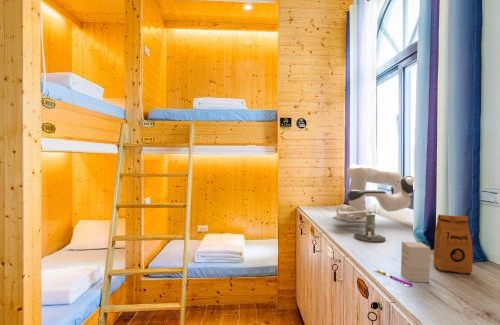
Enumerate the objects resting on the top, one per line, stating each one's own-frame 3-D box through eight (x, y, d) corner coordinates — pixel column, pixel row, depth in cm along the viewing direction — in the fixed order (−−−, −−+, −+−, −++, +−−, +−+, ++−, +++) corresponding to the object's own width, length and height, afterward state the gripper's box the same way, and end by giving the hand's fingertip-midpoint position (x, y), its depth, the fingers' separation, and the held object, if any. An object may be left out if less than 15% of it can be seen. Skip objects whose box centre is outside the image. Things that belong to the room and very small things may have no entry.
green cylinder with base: (359, 235, 174) (359, 214, 174) (366, 234, 180) (367, 212, 179) (372, 239, 168) (373, 216, 168) (380, 237, 173) (381, 215, 173)
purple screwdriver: (413, 286, 110) (376, 271, 124) (413, 283, 109) (376, 268, 124) (408, 289, 108) (371, 273, 123) (408, 286, 108) (371, 271, 123)
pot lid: (348, 237, 175) (348, 228, 175) (364, 233, 185) (364, 224, 185) (375, 244, 163) (376, 234, 163) (391, 239, 173) (391, 230, 173)
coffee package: (475, 277, 120) (477, 219, 120) (437, 272, 124) (440, 216, 124) (465, 268, 130) (467, 214, 130) (431, 264, 134) (433, 212, 133)
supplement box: (420, 275, 120) (421, 242, 120) (429, 283, 113) (431, 247, 113) (400, 274, 121) (401, 241, 121) (407, 281, 114) (409, 246, 113)
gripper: (366, 216, 200) (377, 220, 186) (334, 219, 198) (343, 223, 184) (365, 206, 200) (376, 209, 186) (334, 209, 198) (342, 212, 184)
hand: (359, 216), depth 185 cm, fingers open, 8 cm apart
